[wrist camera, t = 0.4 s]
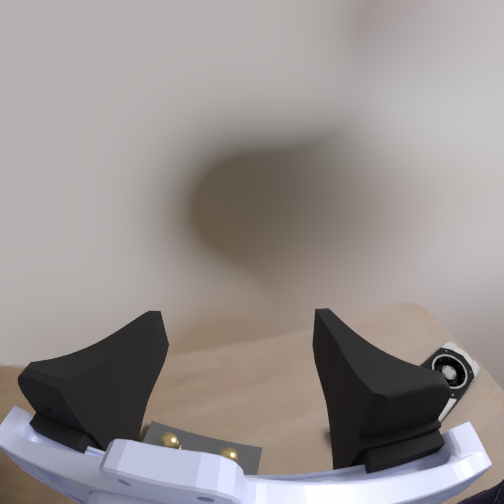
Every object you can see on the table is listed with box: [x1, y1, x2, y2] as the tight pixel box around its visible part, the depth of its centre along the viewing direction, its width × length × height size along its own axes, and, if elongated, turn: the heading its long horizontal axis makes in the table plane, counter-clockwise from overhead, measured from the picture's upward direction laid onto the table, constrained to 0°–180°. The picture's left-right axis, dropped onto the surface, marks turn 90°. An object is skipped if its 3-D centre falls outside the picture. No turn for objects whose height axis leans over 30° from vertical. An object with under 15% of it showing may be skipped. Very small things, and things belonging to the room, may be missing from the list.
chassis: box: [142, 421, 262, 475], centre depth 18 cm, size 12×12×2 cm
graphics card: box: [420, 342, 479, 423], centre depth 26 cm, size 10×3×25 cm
